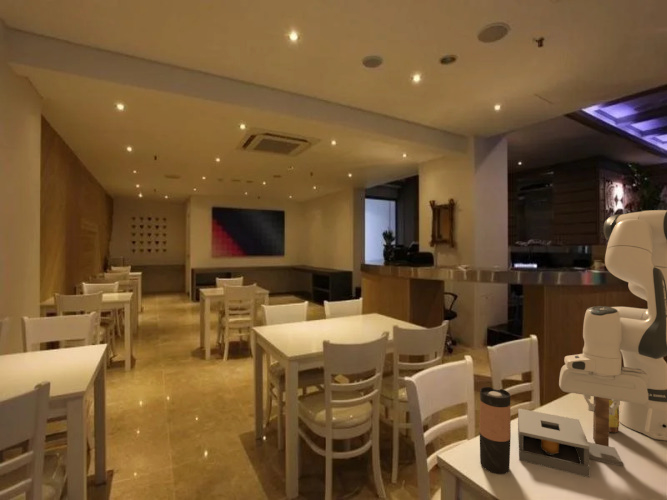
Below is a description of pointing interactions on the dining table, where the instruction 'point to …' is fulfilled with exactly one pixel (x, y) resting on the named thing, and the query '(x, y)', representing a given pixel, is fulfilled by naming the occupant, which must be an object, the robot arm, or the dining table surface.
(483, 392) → the travel mug
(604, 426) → the brown wooden bar
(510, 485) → the dining table surface
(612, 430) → the sauce bottle
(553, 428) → the box
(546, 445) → the button
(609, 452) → the pad
